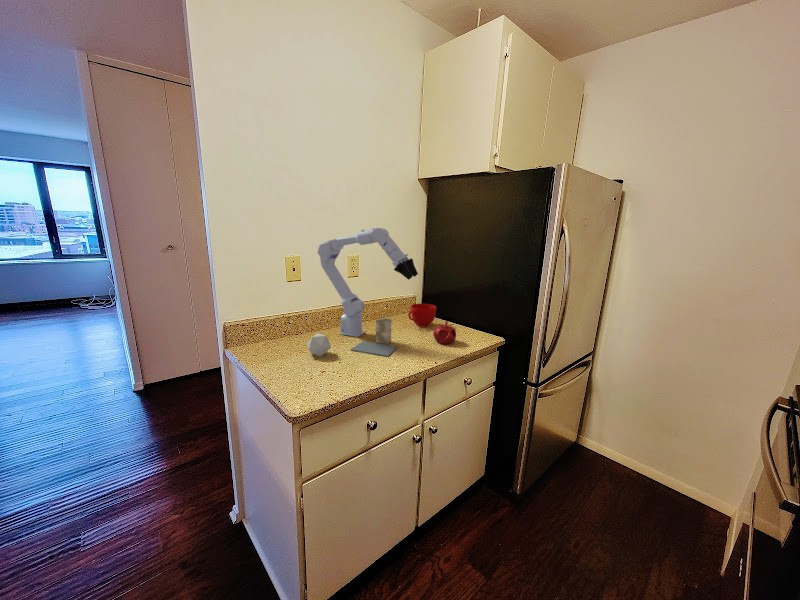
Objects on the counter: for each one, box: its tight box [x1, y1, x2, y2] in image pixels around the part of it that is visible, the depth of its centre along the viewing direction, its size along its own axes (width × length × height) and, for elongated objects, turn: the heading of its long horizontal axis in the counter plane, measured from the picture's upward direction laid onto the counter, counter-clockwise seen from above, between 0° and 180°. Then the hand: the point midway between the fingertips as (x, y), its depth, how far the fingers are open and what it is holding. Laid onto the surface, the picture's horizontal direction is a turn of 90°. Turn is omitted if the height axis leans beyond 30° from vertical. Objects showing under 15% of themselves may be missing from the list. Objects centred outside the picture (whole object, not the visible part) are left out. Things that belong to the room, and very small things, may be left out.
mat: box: [350, 340, 399, 358], centre depth 132 cm, size 16×11×1 cm
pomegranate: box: [432, 321, 457, 345], centre depth 142 cm, size 10×10×9 cm
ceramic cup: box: [407, 303, 437, 328], centre depth 165 cm, size 13×17×10 cm
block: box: [375, 317, 393, 345], centre depth 139 cm, size 5×5×10 cm
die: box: [306, 332, 332, 358], centre depth 124 cm, size 8×9×10 cm
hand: (413, 276), depth 136 cm, fingers open, 7 cm apart
